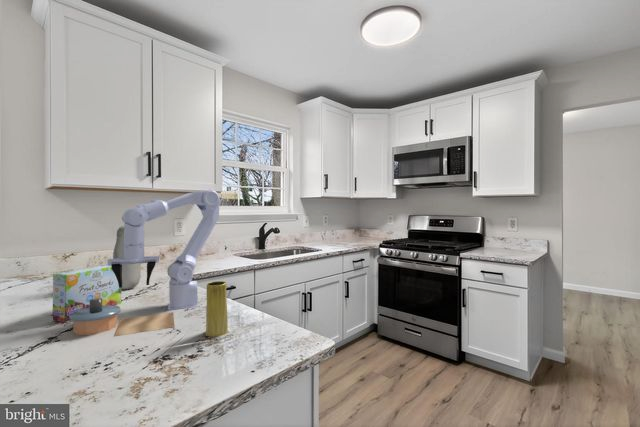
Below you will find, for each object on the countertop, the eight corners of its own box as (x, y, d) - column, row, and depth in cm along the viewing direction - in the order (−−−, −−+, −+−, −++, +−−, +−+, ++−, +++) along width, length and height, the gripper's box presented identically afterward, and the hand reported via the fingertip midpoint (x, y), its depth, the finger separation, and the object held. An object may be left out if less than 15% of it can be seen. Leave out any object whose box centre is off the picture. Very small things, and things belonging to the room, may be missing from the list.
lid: (122, 305, 99) (122, 292, 99) (117, 317, 88) (117, 302, 88) (75, 311, 93) (75, 297, 93) (64, 324, 82) (64, 308, 82)
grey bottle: (125, 285, 144) (125, 225, 144) (145, 286, 143) (145, 225, 143) (108, 291, 134) (107, 226, 134) (129, 292, 133) (129, 226, 133)
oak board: (173, 313, 105) (173, 312, 105) (174, 328, 91) (174, 327, 91) (120, 320, 98) (120, 319, 98) (113, 338, 85) (113, 336, 85)
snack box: (66, 323, 96) (66, 274, 96) (51, 321, 97) (51, 273, 97) (122, 303, 117) (122, 263, 117) (110, 302, 118) (109, 262, 118)
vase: (206, 339, 83) (206, 286, 83) (203, 332, 89) (203, 282, 89) (230, 335, 86) (229, 284, 86) (225, 328, 92) (225, 280, 92)
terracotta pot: (118, 321, 97) (118, 307, 97) (114, 332, 88) (113, 316, 88) (79, 326, 93) (78, 311, 93) (69, 339, 84) (69, 322, 84)
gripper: (105, 246, 96) (106, 291, 96) (158, 244, 102) (159, 285, 102) (109, 244, 102) (109, 286, 102) (159, 242, 109) (159, 281, 109)
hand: (134, 285), depth 103 cm, fingers open, 7 cm apart
